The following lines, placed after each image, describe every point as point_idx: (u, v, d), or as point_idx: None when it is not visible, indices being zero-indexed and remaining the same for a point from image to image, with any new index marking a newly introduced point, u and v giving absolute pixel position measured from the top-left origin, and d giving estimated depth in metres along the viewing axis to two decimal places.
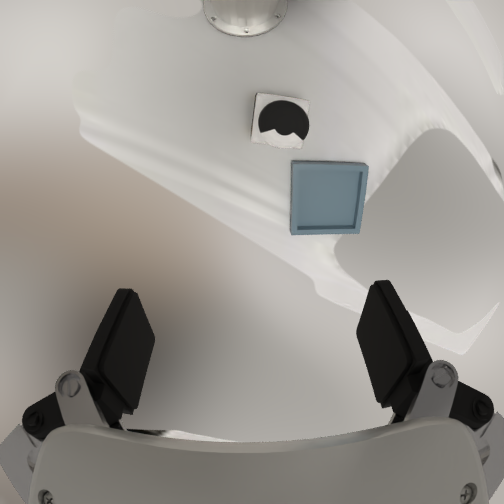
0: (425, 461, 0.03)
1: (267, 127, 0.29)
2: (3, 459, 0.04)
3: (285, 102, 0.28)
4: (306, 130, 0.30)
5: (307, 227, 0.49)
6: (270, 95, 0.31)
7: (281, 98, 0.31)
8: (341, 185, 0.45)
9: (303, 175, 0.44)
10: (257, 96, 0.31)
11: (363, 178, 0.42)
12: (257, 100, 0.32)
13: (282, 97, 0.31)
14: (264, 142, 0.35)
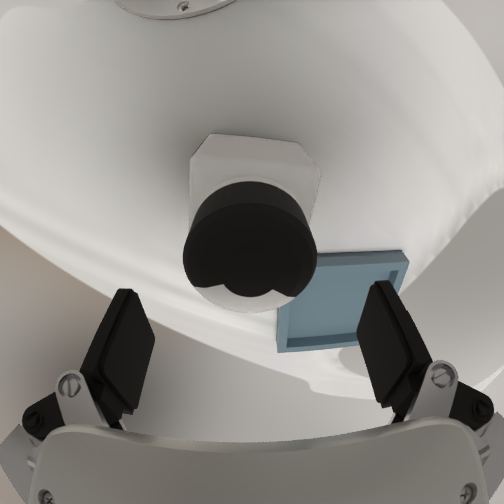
0: (425, 461, 0.03)
1: (204, 281, 0.12)
2: (3, 459, 0.04)
3: (251, 210, 0.10)
4: (308, 278, 0.12)
5: (302, 340, 0.32)
6: (223, 160, 0.14)
7: (250, 167, 0.14)
8: (360, 286, 0.27)
9: None
10: (191, 164, 0.14)
11: (397, 279, 0.25)
12: (192, 175, 0.14)
13: (253, 164, 0.14)
14: None
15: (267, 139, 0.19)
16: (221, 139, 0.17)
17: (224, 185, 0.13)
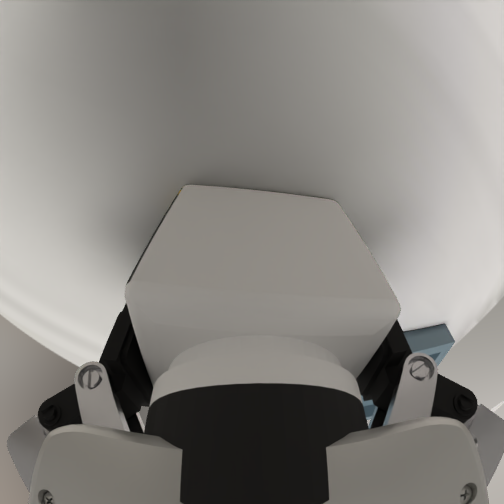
0: (425, 461, 0.03)
1: None
2: (12, 447, 0.04)
3: None
4: None
5: None
6: (194, 302, 0.06)
7: (259, 317, 0.06)
8: None
9: None
10: (128, 303, 0.06)
11: (437, 359, 0.17)
12: (134, 321, 0.06)
13: (265, 311, 0.06)
14: None
15: (285, 196, 0.11)
16: (201, 205, 0.10)
17: (198, 383, 0.05)
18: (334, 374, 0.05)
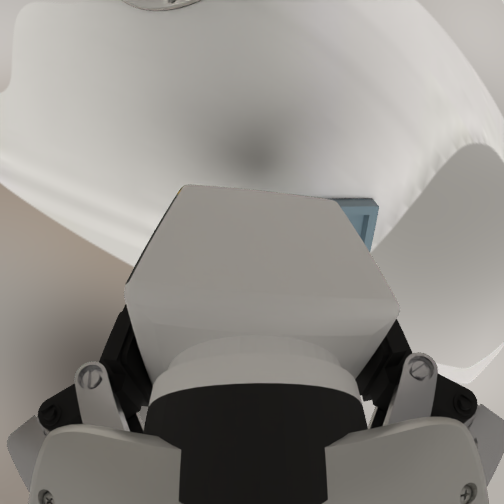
0: (425, 461, 0.03)
1: None
2: (13, 447, 0.04)
3: None
4: None
5: None
6: (193, 302, 0.06)
7: (258, 317, 0.06)
8: None
9: None
10: (128, 303, 0.06)
11: (369, 224, 0.28)
12: (133, 321, 0.06)
13: (264, 311, 0.06)
14: None
15: (284, 196, 0.11)
16: (200, 205, 0.10)
17: (197, 383, 0.05)
18: (333, 374, 0.05)
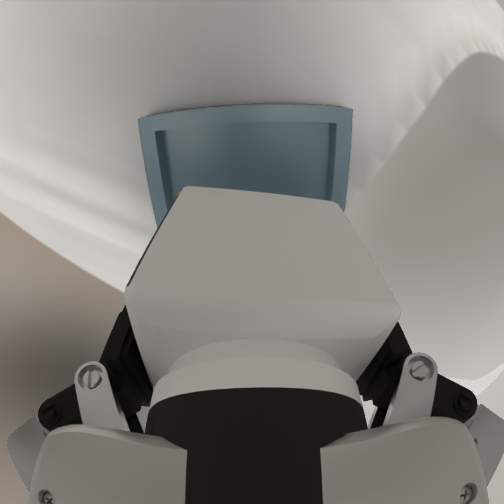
0: (425, 461, 0.03)
1: None
2: (13, 447, 0.04)
3: None
4: None
5: None
6: (194, 306, 0.06)
7: (259, 321, 0.06)
8: (282, 164, 0.17)
9: (177, 146, 0.17)
10: (128, 307, 0.06)
11: (339, 142, 0.15)
12: (134, 324, 0.06)
13: (265, 315, 0.06)
14: None
15: (285, 197, 0.11)
16: (201, 207, 0.10)
17: (198, 387, 0.05)
18: (334, 378, 0.05)
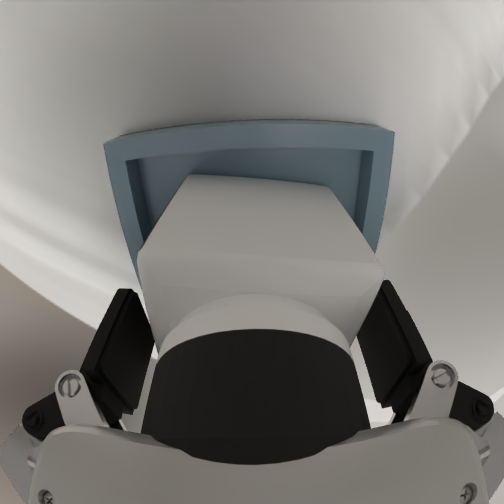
0: (425, 461, 0.03)
1: None
2: (3, 459, 0.04)
3: (258, 454, 0.04)
4: None
5: None
6: (198, 263, 0.07)
7: (254, 276, 0.07)
8: None
9: (159, 178, 0.13)
10: (140, 268, 0.07)
11: (375, 176, 0.11)
12: (144, 286, 0.07)
13: (259, 270, 0.07)
14: None
15: (280, 182, 0.12)
16: (204, 190, 0.11)
17: (200, 332, 0.06)
18: (323, 327, 0.06)
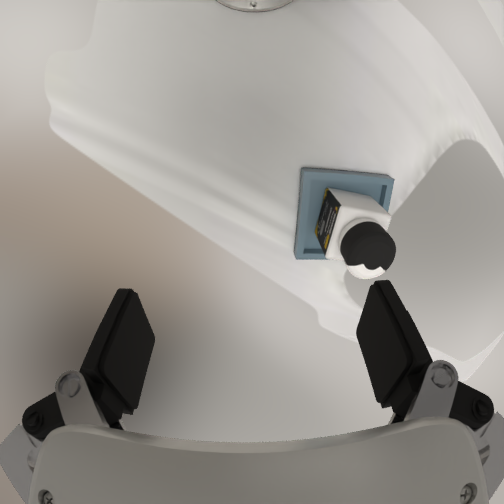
0: (425, 461, 0.03)
1: (356, 262, 0.27)
2: (2, 459, 0.04)
3: (379, 234, 0.26)
4: (391, 262, 0.28)
5: (315, 250, 0.40)
6: (354, 210, 0.29)
7: (365, 214, 0.29)
8: None
9: (315, 186, 0.35)
10: (340, 210, 0.29)
11: (387, 193, 0.34)
12: (340, 215, 0.30)
13: (366, 212, 0.29)
14: (339, 259, 0.33)
15: (356, 193, 0.35)
16: (339, 193, 0.33)
17: (359, 222, 0.28)
18: (380, 224, 0.29)
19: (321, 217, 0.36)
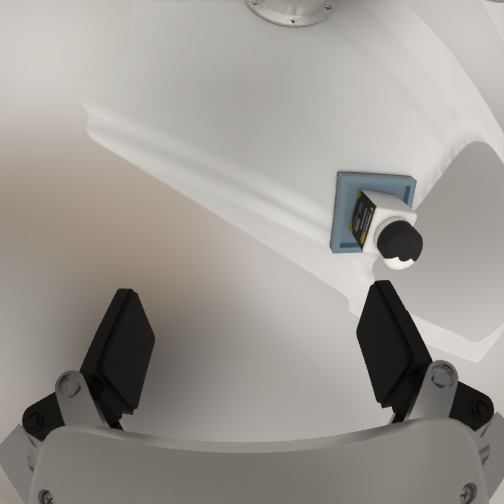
0: (425, 461, 0.03)
1: (392, 256, 0.31)
2: (3, 459, 0.04)
3: (410, 232, 0.29)
4: (419, 254, 0.31)
5: (349, 244, 0.43)
6: (387, 210, 0.33)
7: (396, 213, 0.33)
8: None
9: (350, 188, 0.38)
10: (376, 211, 0.33)
11: (410, 193, 0.37)
12: (376, 215, 0.33)
13: (397, 212, 0.33)
14: (374, 252, 0.36)
15: (385, 193, 0.38)
16: (371, 195, 0.36)
17: (392, 221, 0.32)
18: (409, 222, 0.32)
19: (355, 215, 0.39)
